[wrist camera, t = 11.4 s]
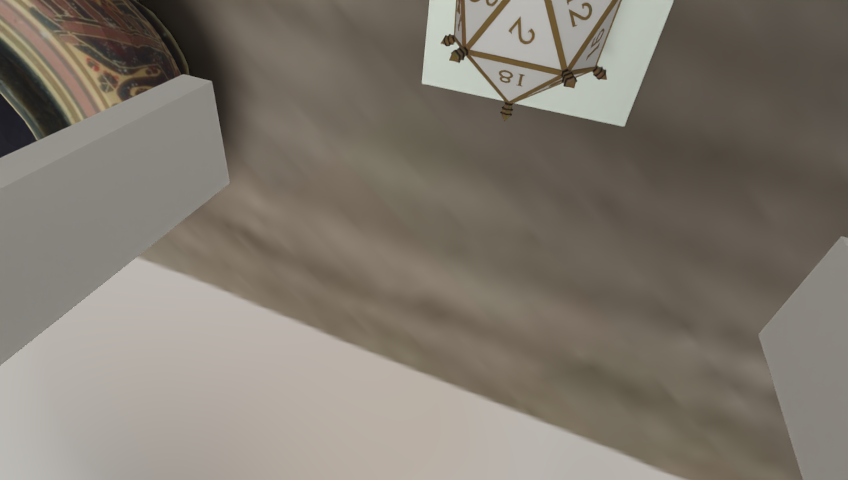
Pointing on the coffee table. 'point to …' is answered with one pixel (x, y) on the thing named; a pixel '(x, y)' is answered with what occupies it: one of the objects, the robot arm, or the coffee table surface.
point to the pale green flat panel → (588, 99)
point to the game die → (531, 42)
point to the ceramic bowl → (76, 62)
